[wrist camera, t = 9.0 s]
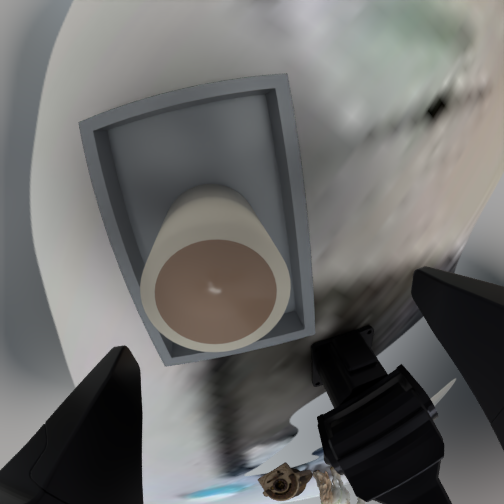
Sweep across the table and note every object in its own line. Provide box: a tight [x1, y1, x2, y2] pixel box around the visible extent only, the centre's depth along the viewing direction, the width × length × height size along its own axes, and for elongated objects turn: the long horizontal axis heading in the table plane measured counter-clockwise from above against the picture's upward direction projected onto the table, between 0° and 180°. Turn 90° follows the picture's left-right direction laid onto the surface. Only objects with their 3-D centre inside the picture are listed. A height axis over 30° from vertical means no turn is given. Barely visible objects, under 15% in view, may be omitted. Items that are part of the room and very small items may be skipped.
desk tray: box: [78, 73, 315, 366], centre depth 17 cm, size 18×12×3 cm, turn 10°
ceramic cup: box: [140, 184, 291, 352], centre depth 14 cm, size 6×6×8 cm
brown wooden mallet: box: [258, 463, 313, 501], centre depth 36 cm, size 7×13×10 cm
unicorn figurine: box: [313, 467, 365, 504], centre depth 38 cm, size 7×20×13 cm, turn 49°
